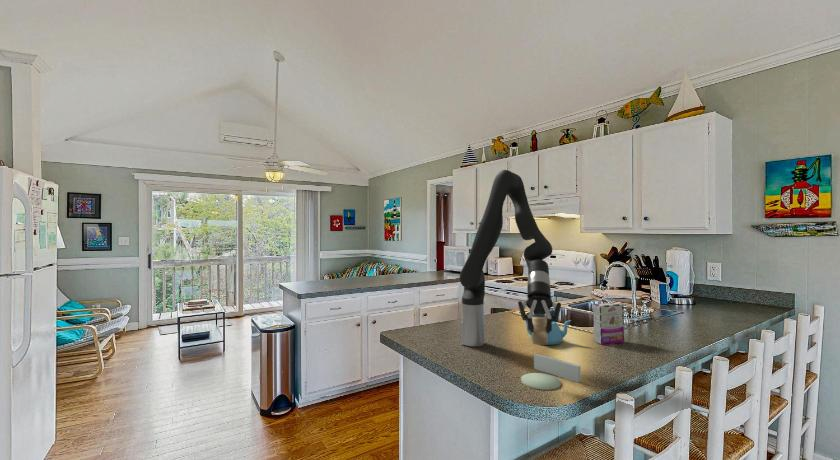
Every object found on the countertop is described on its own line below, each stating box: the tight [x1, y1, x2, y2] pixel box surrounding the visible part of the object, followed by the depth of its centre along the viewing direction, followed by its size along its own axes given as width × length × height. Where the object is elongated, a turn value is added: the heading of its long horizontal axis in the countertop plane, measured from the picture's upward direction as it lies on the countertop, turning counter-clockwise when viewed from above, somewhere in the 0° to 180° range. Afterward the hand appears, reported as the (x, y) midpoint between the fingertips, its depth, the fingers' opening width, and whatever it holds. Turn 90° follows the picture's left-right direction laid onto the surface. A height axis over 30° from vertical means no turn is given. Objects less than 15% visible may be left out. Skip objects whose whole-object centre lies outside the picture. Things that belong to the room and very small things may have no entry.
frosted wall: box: [533, 353, 582, 383], centre depth 123 cm, size 16×2×5 cm, turn 39°
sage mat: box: [520, 372, 562, 391], centre depth 118 cm, size 12×12×1 cm
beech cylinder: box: [532, 315, 548, 346], centre depth 118 cm, size 4×4×8 cm
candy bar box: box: [592, 302, 625, 346], centre depth 158 cm, size 11×5×16 cm, turn 102°
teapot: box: [524, 319, 572, 346], centre depth 161 cm, size 15×15×10 cm
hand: (539, 331), depth 116 cm, fingers closed on beech cylinder, 4 cm apart
